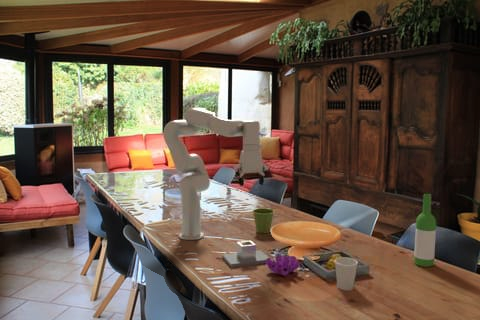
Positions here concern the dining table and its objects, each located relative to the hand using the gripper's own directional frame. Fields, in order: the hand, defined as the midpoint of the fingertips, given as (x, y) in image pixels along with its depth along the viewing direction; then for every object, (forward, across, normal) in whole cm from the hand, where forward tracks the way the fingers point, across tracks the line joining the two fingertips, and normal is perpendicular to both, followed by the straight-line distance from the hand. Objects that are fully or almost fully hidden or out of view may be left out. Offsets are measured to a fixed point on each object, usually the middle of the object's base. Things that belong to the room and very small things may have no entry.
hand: (251, 185), depth 196 cm
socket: (+29, +7, +13) cm, 32 cm away
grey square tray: (+30, -24, +34) cm, 51 cm away
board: (+30, +7, +13) cm, 34 cm away
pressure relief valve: (+31, -26, +36) cm, 54 cm away
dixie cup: (+31, -18, +51) cm, 62 cm away
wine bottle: (+31, -62, +42) cm, 81 cm away
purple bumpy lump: (+31, -2, +31) cm, 44 cm away
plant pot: (+31, -16, -24) cm, 42 cm away
